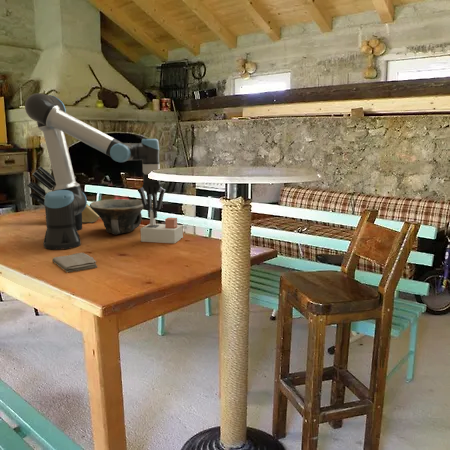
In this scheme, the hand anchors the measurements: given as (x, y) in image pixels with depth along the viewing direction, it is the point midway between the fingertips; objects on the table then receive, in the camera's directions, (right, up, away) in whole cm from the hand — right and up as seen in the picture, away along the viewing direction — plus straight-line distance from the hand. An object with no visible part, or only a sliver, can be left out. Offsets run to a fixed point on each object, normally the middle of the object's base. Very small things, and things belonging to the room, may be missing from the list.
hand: (152, 224), depth 206 cm
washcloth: (-22, -15, -40) cm, 48 cm away
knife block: (-54, +1, +40) cm, 67 cm away
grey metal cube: (0, -5, +1) cm, 5 cm away
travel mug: (-43, -3, +22) cm, 48 cm away
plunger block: (+4, -7, 0) cm, 8 cm away
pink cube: (+9, -2, -2) cm, 9 cm away
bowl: (-19, -4, +16) cm, 25 cm away
